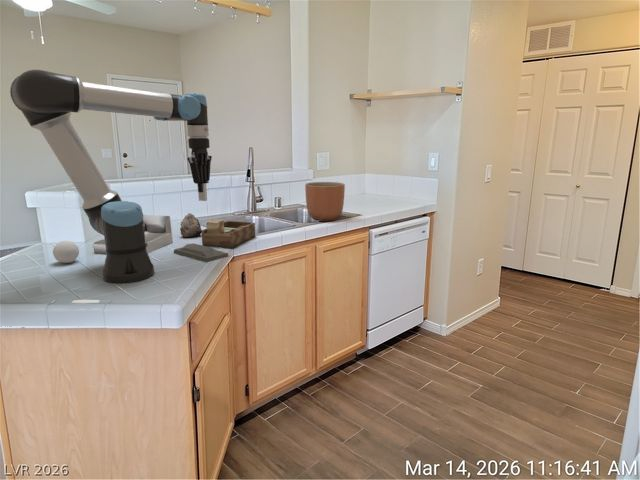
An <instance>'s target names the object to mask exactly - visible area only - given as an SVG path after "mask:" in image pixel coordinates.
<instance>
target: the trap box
mask: <svg viewBox="0 0 640 480" xmlns="http://www.w3.org/2000/svg"><path fill="white" fill-rule="evenodd" d="M254 237H255V238H256V222H250V221H236V220H235V221H234V220H225V221H224V232H223V233H221V234H219V235H215V234H207V228H204V229H202V230H201V243H202V244H201V245H202V246H206V247H210V248H220V247H221V248H223V249H235V248H237V247H239V246H241V245H243V244H244V243H247V242H248V241H250V240H253V239H255V238H254ZM221 248H220V249H221Z"/></svg>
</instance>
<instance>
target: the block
mask: <svg viewBox="0 0 640 480" xmlns="http://www.w3.org/2000/svg"><path fill="white" fill-rule="evenodd" d="M224 222H225V221H224V219H210V220H208V221H206V229H207V234H215V235H219V234H221V233H223V232H224Z"/></svg>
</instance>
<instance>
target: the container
mask: <svg viewBox="0 0 640 480" xmlns="http://www.w3.org/2000/svg"><path fill="white" fill-rule="evenodd" d="M143 222H144V232H145V243H146V251H147V253H148V254H149V253H152V252H153V251H156V250H158V249H160V248H163V247H165V246H167V245H169V244H171V243H172V244H173V243H174V242H173V241H174V240H173V233H172V232H173V231H172V223H171V215H155V214H143ZM92 246H93V253H94V254H100V255H107V253H106V246H105V238H104V239H100V240H97V241H95V242H93V243H92Z"/></svg>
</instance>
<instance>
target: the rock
mask: <svg viewBox="0 0 640 480" xmlns="http://www.w3.org/2000/svg"><path fill="white" fill-rule="evenodd" d="M179 230H180V235H181V236H182V237H185V238H191V237H194V236H195V237H200V236H201V235H202V233H201V230H203V229H202V228H201V223H200V221H199V219H198V218H196V217H195V215H194V214H193V213H190V212H189V213H187V215H185V216H184V217H183V220H181V222H180V228H179Z"/></svg>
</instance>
